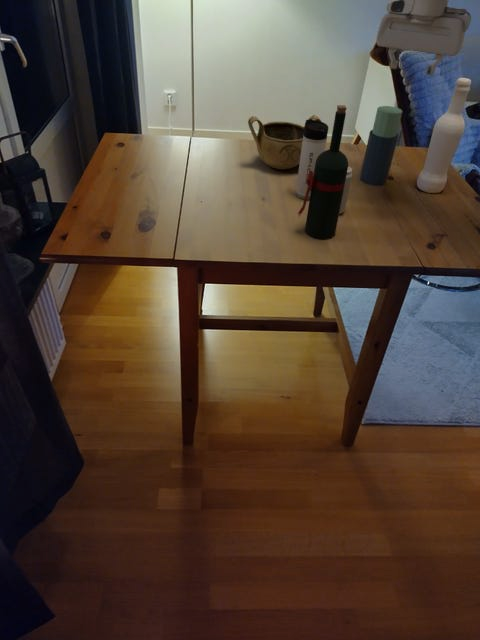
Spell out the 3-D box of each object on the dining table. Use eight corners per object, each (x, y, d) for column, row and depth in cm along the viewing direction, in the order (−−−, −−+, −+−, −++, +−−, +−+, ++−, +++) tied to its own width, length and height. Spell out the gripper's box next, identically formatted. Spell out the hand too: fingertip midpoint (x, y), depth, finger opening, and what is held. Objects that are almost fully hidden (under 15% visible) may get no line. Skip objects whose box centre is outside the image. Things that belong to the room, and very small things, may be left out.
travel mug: (306, 188, 135) (316, 117, 122) (322, 196, 131) (334, 124, 118) (290, 193, 132) (299, 121, 119) (305, 202, 128) (316, 128, 115)
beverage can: (321, 203, 128) (328, 161, 120) (344, 206, 127) (353, 164, 119) (320, 214, 123) (327, 171, 115) (344, 217, 123) (353, 174, 115)
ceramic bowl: (253, 178, 138) (256, 127, 129) (240, 156, 151) (242, 108, 141) (322, 174, 143) (331, 124, 133) (304, 153, 155) (311, 106, 145)
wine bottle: (293, 223, 119) (309, 100, 99) (331, 223, 120) (355, 101, 100) (298, 239, 113) (316, 111, 93) (338, 239, 114) (365, 112, 94)
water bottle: (389, 178, 142) (405, 118, 130) (380, 187, 137) (397, 125, 125) (365, 172, 145) (378, 112, 134) (355, 180, 140) (369, 119, 128)
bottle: (449, 190, 138) (488, 81, 118) (430, 196, 134) (468, 84, 114) (427, 180, 143) (462, 73, 123) (409, 185, 139) (442, 76, 120)
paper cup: (398, 132, 133) (405, 109, 129) (391, 139, 129) (397, 115, 124) (377, 127, 135) (382, 104, 131) (369, 134, 131) (374, 110, 127)
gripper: (476, 8, 105) (456, 75, 114) (389, 0, 113) (377, 63, 122) (470, 11, 101) (450, 80, 110) (380, 2, 109) (368, 67, 118)
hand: (411, 71), depth 116 cm, fingers open, 8 cm apart
